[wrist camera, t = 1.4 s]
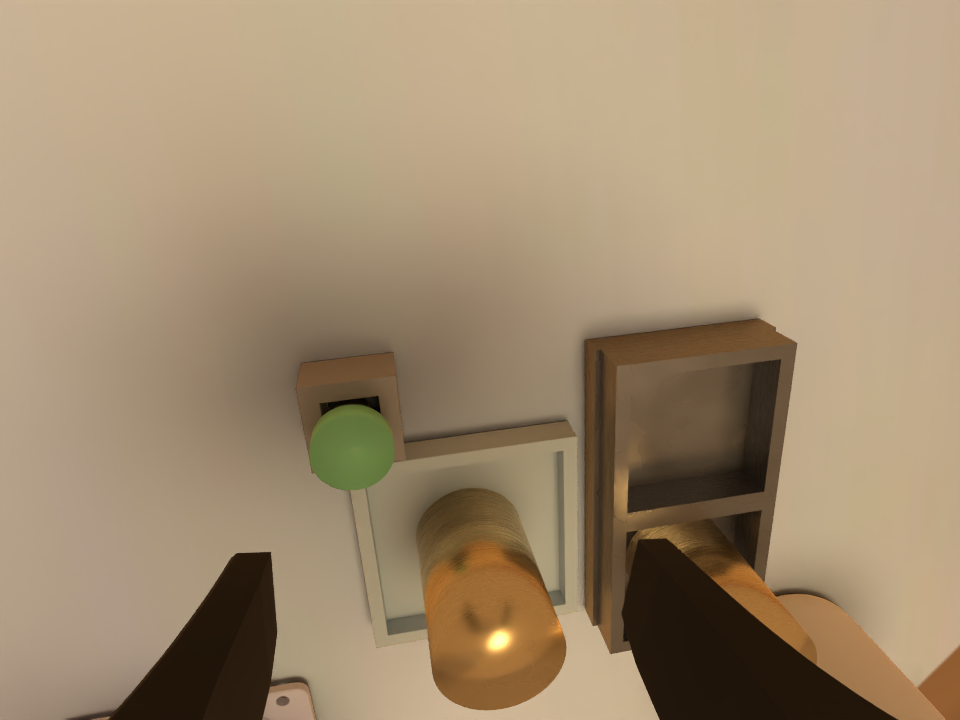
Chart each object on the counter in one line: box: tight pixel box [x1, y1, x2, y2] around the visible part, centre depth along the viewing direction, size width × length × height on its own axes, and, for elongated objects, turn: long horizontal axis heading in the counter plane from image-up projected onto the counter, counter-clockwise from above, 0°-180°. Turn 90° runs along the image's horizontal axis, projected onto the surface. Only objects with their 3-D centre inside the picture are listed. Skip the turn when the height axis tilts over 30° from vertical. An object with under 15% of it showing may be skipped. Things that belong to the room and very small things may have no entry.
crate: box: [585, 319, 797, 654], centre depth 24 cm, size 7×12×2 cm, turn 4°
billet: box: [416, 488, 566, 710], centre depth 21 cm, size 4×4×6 cm
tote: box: [350, 421, 578, 648], centre depth 24 cm, size 8×8×1 cm
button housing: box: [296, 352, 406, 473], centre depth 21 cm, size 3×3×2 cm
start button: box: [309, 398, 394, 490], centre depth 20 cm, size 2×2×3 cm
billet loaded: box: [625, 519, 817, 665], centre depth 23 cm, size 4×4×6 cm
